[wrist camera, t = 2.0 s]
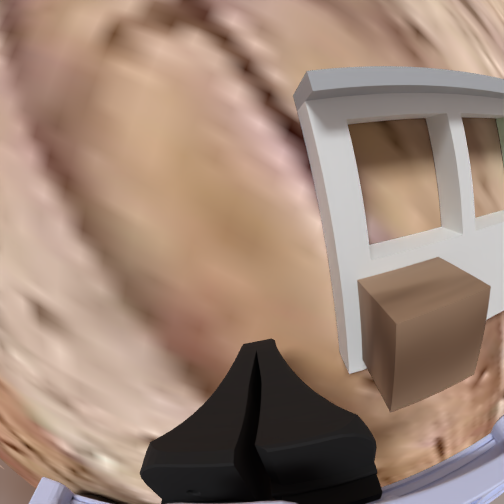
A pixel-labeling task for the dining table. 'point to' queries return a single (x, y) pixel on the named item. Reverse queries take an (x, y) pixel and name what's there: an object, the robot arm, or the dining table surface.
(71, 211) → the dining table surface
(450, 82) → the board
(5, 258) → the dining table surface
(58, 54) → the dining table surface
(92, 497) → the cooking pot
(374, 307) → the walnut block
